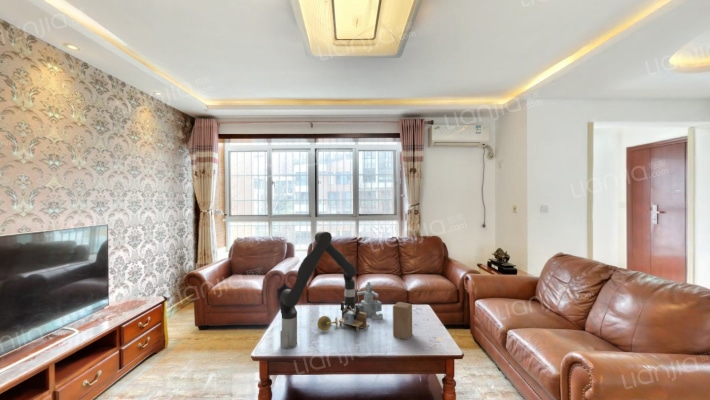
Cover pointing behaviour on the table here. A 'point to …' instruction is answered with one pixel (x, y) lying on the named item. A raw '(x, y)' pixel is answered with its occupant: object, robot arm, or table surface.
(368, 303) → the castle model
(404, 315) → the block
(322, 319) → the wall sconce
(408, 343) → the table surface
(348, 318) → the grey rectangular box
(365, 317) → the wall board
